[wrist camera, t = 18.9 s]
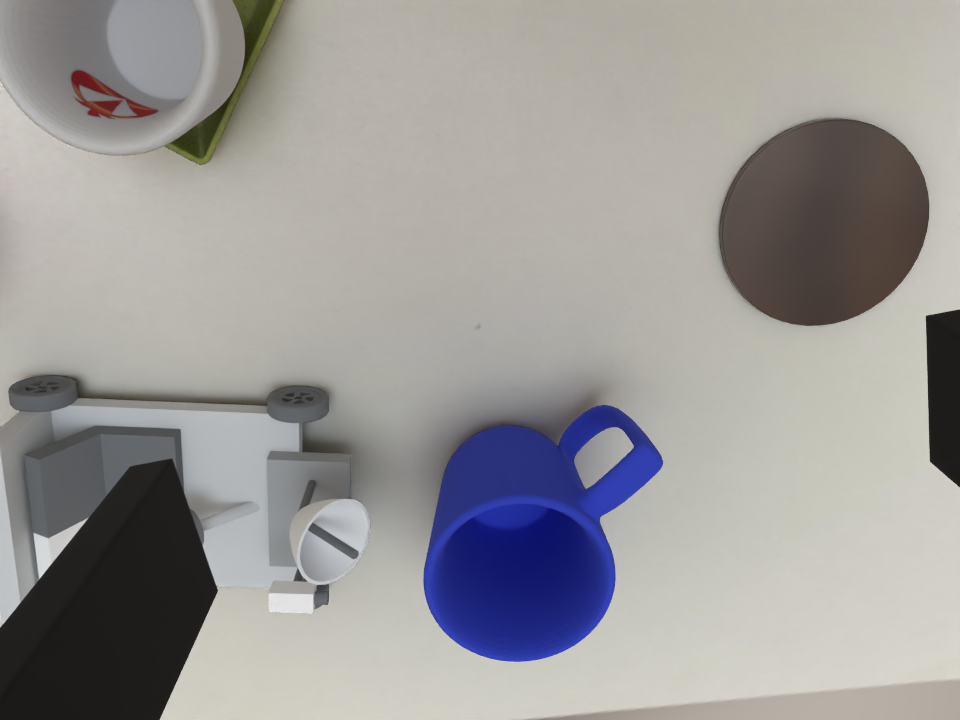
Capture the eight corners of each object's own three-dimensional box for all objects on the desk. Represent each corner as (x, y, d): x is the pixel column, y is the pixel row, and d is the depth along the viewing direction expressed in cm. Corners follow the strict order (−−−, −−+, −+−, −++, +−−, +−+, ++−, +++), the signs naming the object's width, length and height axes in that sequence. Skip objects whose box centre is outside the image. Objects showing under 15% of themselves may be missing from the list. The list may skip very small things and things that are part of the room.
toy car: (365, 475, 36) (361, 707, 39) (384, 388, 45) (380, 583, 49) (-89, 457, 35) (-49, 696, 39) (25, 373, 44) (49, 572, 48)
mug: (670, 430, 46) (725, 526, 37) (504, 571, 49) (516, 695, 39) (565, 323, 44) (595, 396, 35) (397, 476, 47) (383, 583, 37)
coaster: (920, 97, 41) (925, 98, 40) (928, 300, 44) (933, 303, 44) (707, 143, 41) (710, 144, 41) (731, 341, 45) (734, 344, 44)
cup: (-13, 50, 37) (-134, 48, 30) (47, -138, 35) (-66, -191, 27) (224, 169, 39) (168, 196, 31) (296, -2, 37) (255, -18, 29)
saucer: (112, -122, 37) (93, -132, 35) (299, -12, 39) (290, -15, 37) (39, 67, 39) (17, 67, 37) (218, 164, 41) (205, 169, 39)
